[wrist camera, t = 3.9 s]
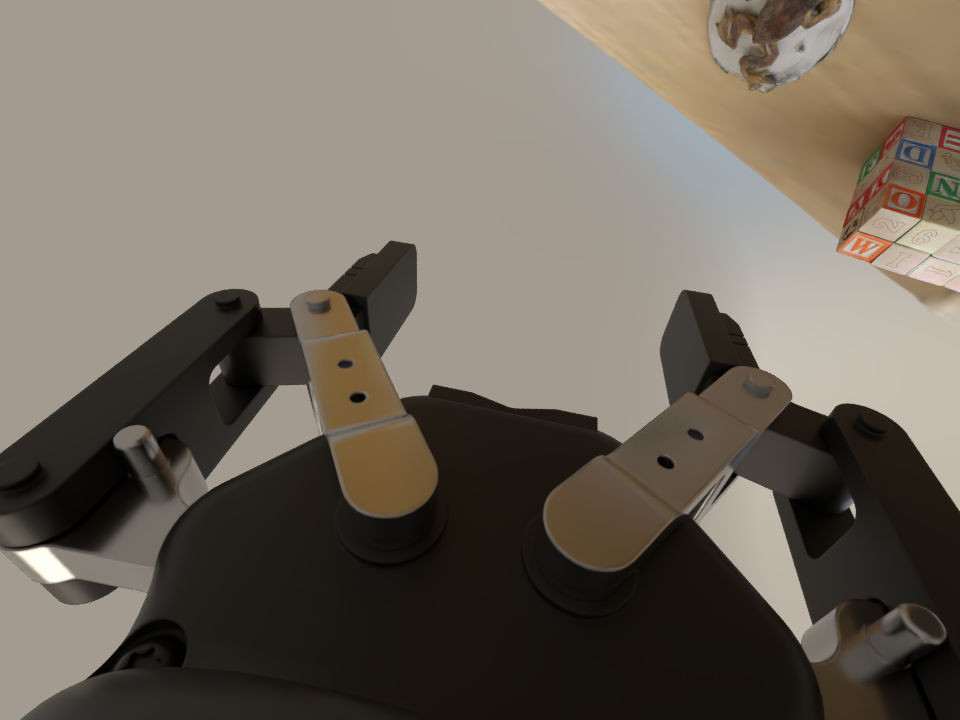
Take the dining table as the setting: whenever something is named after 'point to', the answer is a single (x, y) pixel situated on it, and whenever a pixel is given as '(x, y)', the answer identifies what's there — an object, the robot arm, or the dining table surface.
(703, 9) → the dining table surface
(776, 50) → the frog figurine
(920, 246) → the stack of blocks
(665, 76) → the dining table surface
